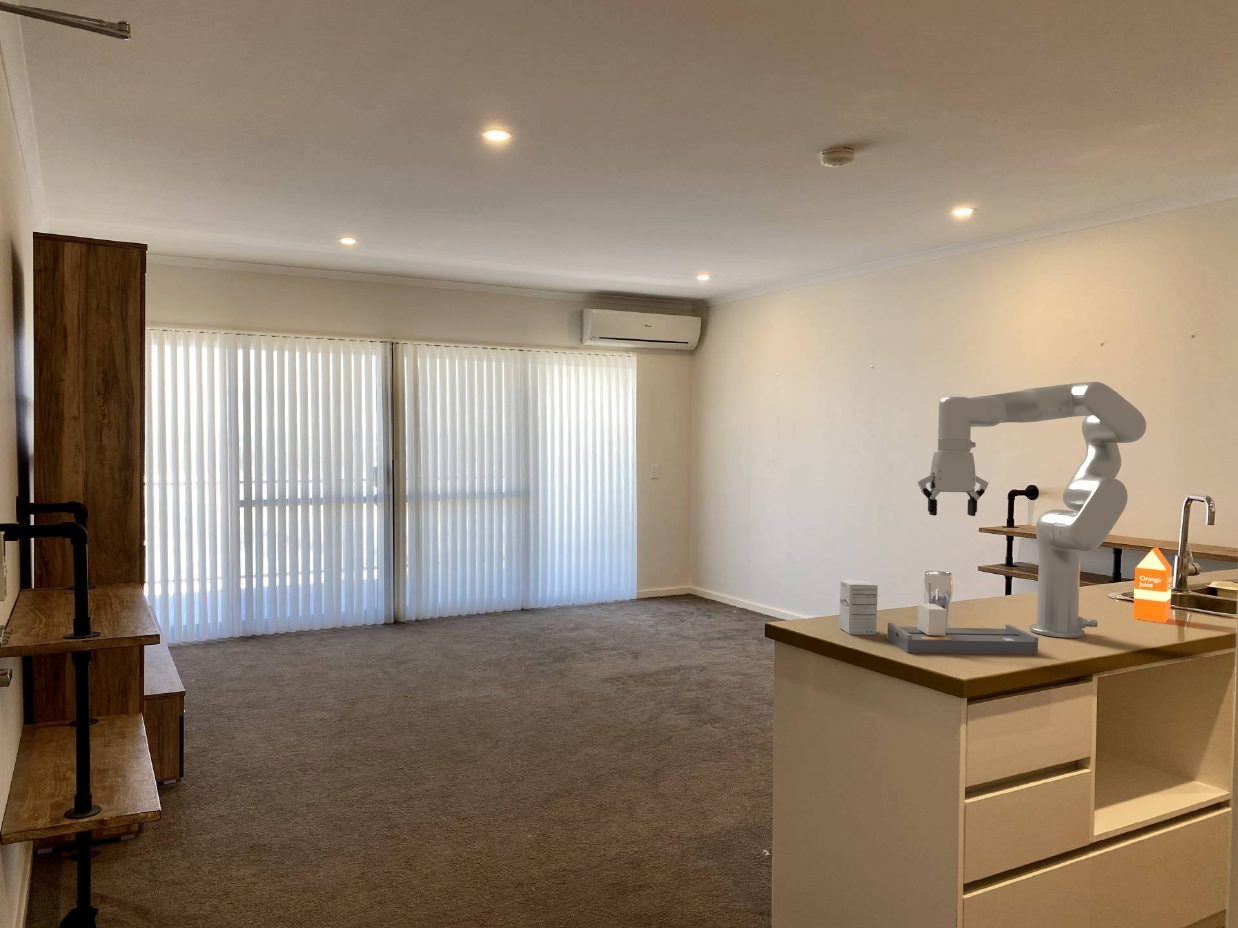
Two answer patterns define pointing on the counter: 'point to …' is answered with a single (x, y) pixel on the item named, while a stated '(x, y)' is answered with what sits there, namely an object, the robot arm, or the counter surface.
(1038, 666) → the counter surface
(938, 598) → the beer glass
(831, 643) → the counter surface
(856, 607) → the supplement box
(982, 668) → the counter surface
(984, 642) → the fader board
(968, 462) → the robot arm
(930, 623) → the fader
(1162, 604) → the orange juice
